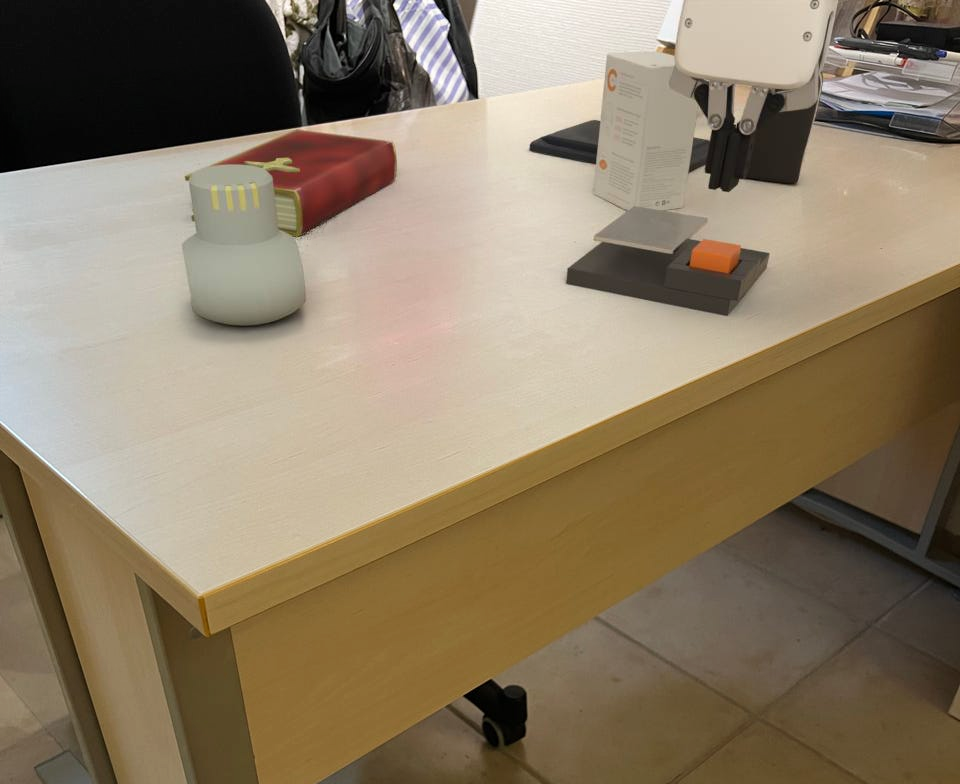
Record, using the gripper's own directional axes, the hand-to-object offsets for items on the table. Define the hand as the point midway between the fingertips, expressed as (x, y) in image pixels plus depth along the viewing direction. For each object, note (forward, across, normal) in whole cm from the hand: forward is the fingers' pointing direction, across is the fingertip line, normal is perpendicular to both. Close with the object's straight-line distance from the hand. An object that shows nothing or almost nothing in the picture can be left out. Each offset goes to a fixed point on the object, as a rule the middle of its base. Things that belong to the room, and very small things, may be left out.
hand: (723, 186), depth 72 cm
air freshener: (+10, +30, +21) cm, 38 cm away
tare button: (+6, 0, 0) cm, 6 cm away
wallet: (+9, +22, -43) cm, 49 cm away
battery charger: (+9, +4, -41) cm, 42 cm away
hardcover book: (+10, +44, -6) cm, 45 cm away
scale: (+9, +4, -4) cm, 10 cm away
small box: (+9, +14, -24) cm, 29 cm away
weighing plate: (+6, +7, -5) cm, 10 cm away
